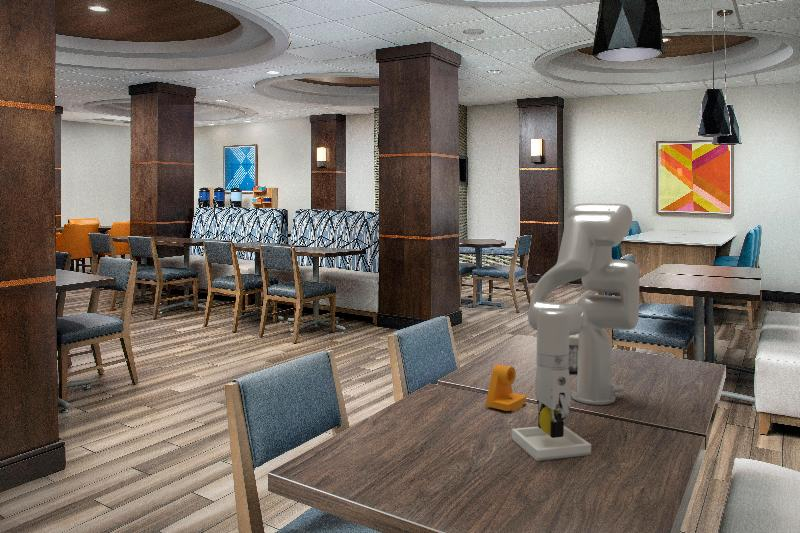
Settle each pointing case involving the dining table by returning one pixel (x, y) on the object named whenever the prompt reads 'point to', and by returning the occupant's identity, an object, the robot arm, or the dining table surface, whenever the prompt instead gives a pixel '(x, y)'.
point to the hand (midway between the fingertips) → (550, 431)
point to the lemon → (546, 419)
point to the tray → (550, 443)
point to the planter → (573, 354)
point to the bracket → (504, 390)
